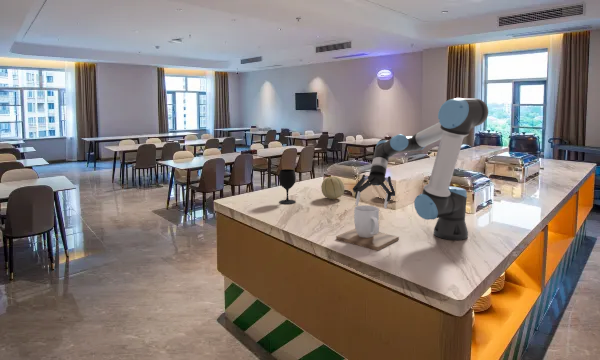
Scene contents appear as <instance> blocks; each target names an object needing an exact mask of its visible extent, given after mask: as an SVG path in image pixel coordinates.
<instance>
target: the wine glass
mask: <svg viewBox="0 0 600 360" xmlns="http://www.w3.org/2000/svg"><path fill="white" fill-rule="evenodd" d="M296 179H297V177H296V171H295V170H294V169H291V168H289V169H287V168H286V169H280V170H279V173H278V182H279V184H280V186H281V187H282V188H283V189H284V190H286V197H285V198H286V199H281V200H279V202H278V203H279V204H281V205H293V204H296V203H297V202H296V200H294V199H289V191H290V189H291V188H292V187H293V186H294V185H295V184H296Z"/></svg>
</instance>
